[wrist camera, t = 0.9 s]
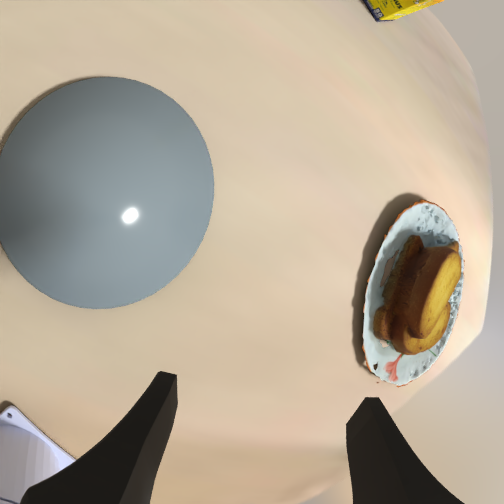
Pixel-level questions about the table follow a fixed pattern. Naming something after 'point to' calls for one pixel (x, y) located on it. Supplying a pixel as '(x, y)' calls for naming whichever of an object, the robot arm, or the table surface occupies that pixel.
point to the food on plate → (413, 294)
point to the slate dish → (104, 192)
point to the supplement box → (396, 8)
